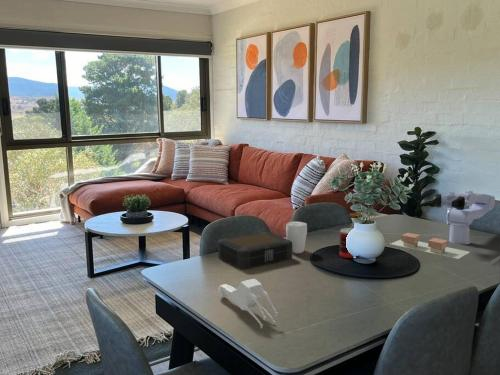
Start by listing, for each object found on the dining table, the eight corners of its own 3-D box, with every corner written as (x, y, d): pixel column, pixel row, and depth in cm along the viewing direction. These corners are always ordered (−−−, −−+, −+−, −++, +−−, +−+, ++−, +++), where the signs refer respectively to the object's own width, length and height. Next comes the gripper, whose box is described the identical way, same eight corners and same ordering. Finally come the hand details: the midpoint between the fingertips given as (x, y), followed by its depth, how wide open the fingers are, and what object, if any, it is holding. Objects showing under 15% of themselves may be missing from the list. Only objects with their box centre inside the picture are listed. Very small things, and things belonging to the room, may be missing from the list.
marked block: (408, 243, 211) (408, 234, 210) (417, 245, 208) (418, 236, 207) (403, 245, 208) (403, 236, 207) (412, 248, 205) (413, 238, 204)
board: (403, 240, 220) (403, 238, 220) (470, 254, 199) (470, 251, 199) (389, 246, 211) (389, 243, 211) (458, 261, 190) (458, 258, 190)
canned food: (360, 254, 199) (361, 229, 197) (355, 260, 192) (356, 233, 190) (342, 252, 202) (342, 227, 200) (337, 257, 195) (338, 231, 193)
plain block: (434, 249, 202) (435, 239, 202) (444, 251, 199) (445, 241, 199) (430, 251, 199) (430, 241, 199) (440, 254, 196) (441, 243, 196)
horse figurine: (267, 347, 140) (225, 292, 157) (280, 306, 132) (235, 252, 149) (253, 352, 137) (212, 295, 154) (266, 310, 129) (222, 255, 147)
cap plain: (433, 243, 203) (434, 237, 203) (447, 246, 199) (447, 240, 199) (428, 246, 199) (428, 240, 199) (441, 249, 195) (442, 243, 195)
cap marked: (407, 238, 211) (407, 232, 211) (420, 241, 207) (420, 235, 207) (401, 241, 207) (401, 235, 207) (413, 243, 203) (414, 237, 203)
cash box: (243, 271, 180) (243, 251, 178) (216, 257, 196) (216, 239, 195) (294, 259, 193) (294, 241, 192) (265, 247, 210) (265, 230, 209)
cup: (306, 248, 208) (307, 221, 206) (306, 254, 199) (307, 226, 197) (285, 247, 209) (286, 221, 207) (285, 254, 200) (285, 226, 198)
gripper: (440, 189, 212) (426, 191, 202) (473, 193, 202) (461, 195, 192) (438, 205, 213) (425, 207, 203) (472, 209, 203) (460, 212, 193)
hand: (443, 202), depth 198 cm, fingers open, 7 cm apart
